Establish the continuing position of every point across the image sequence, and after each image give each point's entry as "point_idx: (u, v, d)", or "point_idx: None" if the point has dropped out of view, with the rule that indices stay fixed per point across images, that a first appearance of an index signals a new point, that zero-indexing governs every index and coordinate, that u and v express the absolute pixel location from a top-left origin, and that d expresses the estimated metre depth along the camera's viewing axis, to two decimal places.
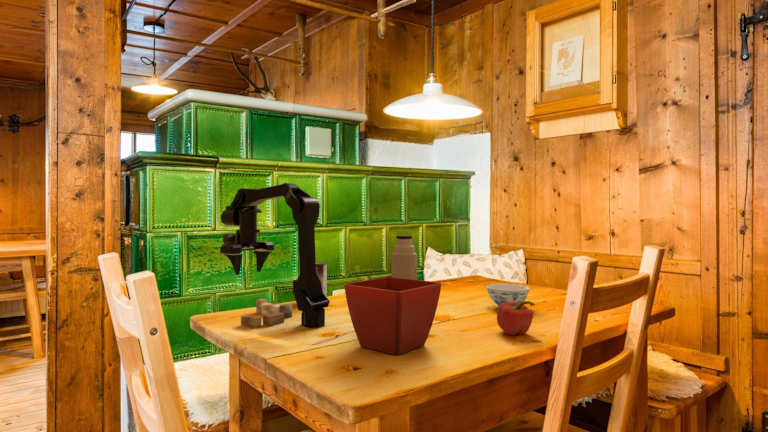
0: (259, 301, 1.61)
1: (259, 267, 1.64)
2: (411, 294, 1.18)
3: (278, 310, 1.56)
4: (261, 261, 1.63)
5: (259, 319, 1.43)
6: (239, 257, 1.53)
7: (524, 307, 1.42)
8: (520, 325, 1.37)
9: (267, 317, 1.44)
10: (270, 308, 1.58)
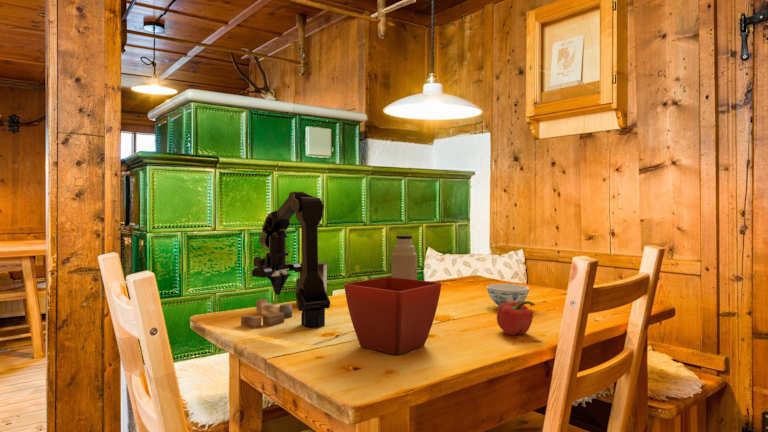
0: (259, 301, 1.61)
1: None
2: (411, 294, 1.18)
3: (278, 310, 1.56)
4: None
5: (259, 319, 1.43)
6: (279, 278, 1.65)
7: (524, 307, 1.42)
8: (520, 325, 1.37)
9: (267, 317, 1.44)
10: (270, 308, 1.58)
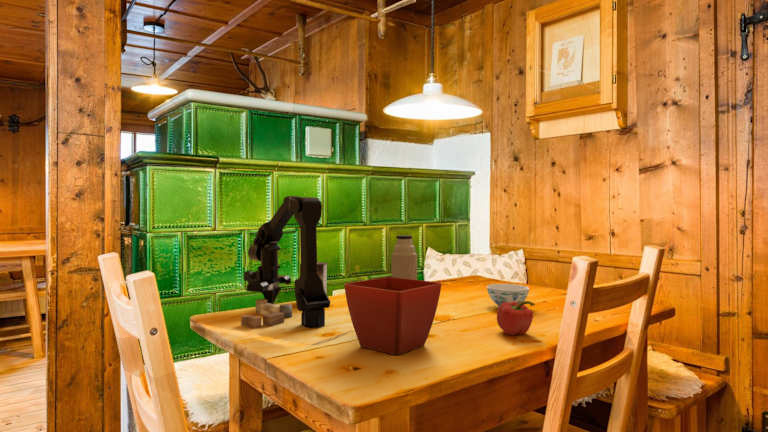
0: (259, 301, 1.61)
1: (271, 303, 1.65)
2: (411, 294, 1.18)
3: (278, 310, 1.56)
4: None
5: (259, 319, 1.43)
6: (273, 292, 1.63)
7: (524, 307, 1.42)
8: (520, 325, 1.37)
9: (267, 317, 1.44)
10: (270, 308, 1.58)
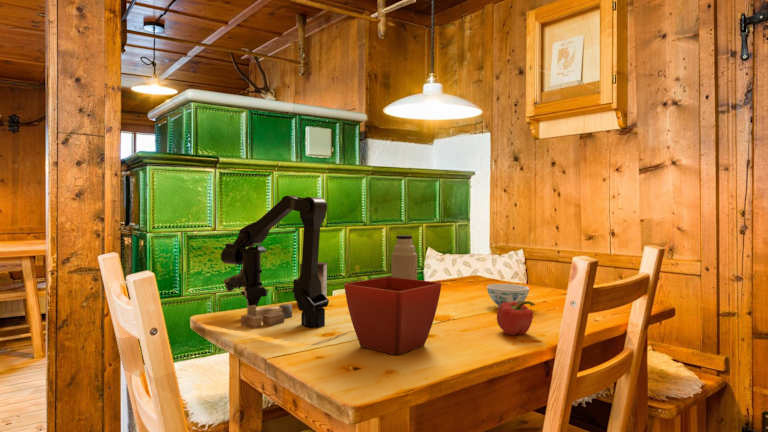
0: (253, 307, 1.51)
1: None
2: (411, 294, 1.18)
3: (281, 311, 1.55)
4: None
5: (259, 319, 1.43)
6: None
7: (524, 307, 1.42)
8: (520, 325, 1.37)
9: (267, 317, 1.44)
10: (269, 312, 1.53)
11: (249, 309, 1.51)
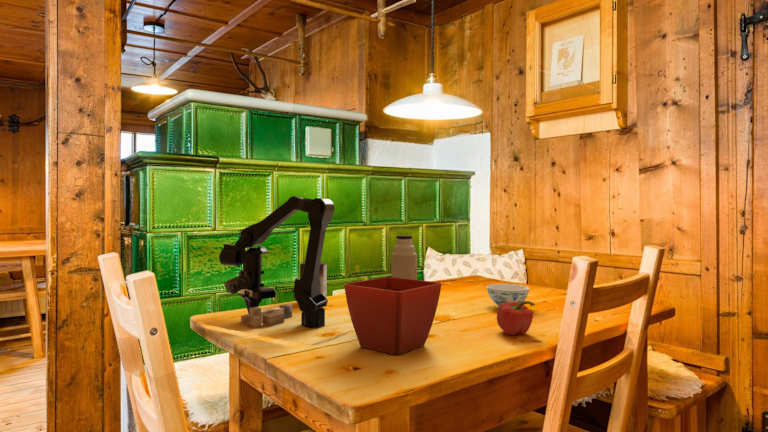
0: (258, 309, 1.48)
1: None
2: (411, 294, 1.18)
3: (283, 311, 1.54)
4: None
5: (259, 319, 1.43)
6: None
7: (524, 307, 1.42)
8: (520, 325, 1.37)
9: (267, 317, 1.44)
10: None
11: (255, 311, 1.48)
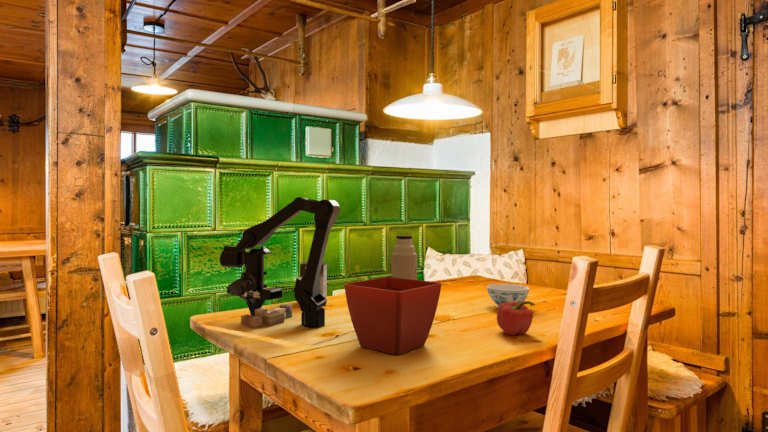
0: (265, 310, 1.47)
1: None
2: (411, 294, 1.18)
3: (285, 311, 1.54)
4: None
5: (259, 319, 1.43)
6: None
7: (524, 307, 1.42)
8: (520, 325, 1.37)
9: (267, 317, 1.44)
10: None
11: (262, 312, 1.46)
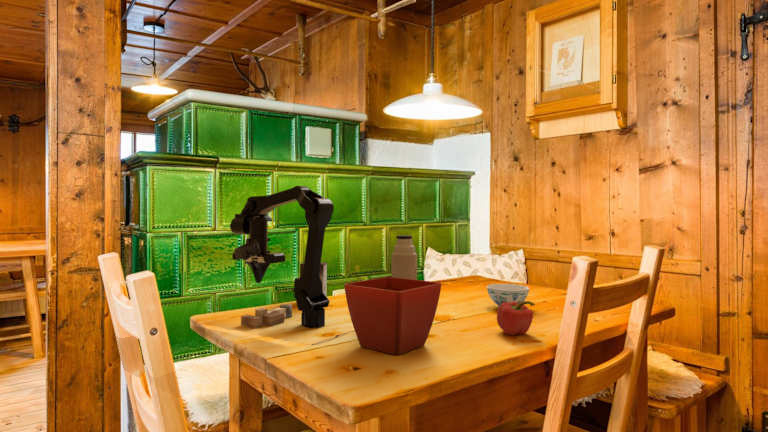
0: (265, 310, 1.47)
1: None
2: (411, 294, 1.18)
3: (285, 311, 1.54)
4: None
5: (259, 319, 1.43)
6: None
7: (524, 307, 1.42)
8: (520, 325, 1.37)
9: (267, 317, 1.44)
10: None
11: (262, 312, 1.46)
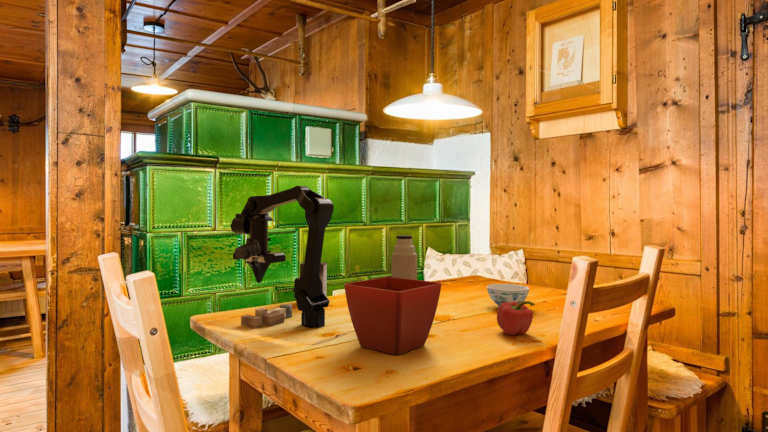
0: (265, 310, 1.47)
1: None
2: (411, 294, 1.18)
3: (285, 311, 1.54)
4: None
5: (259, 319, 1.43)
6: None
7: (524, 307, 1.42)
8: (520, 325, 1.37)
9: (267, 317, 1.44)
10: None
11: (262, 312, 1.46)
